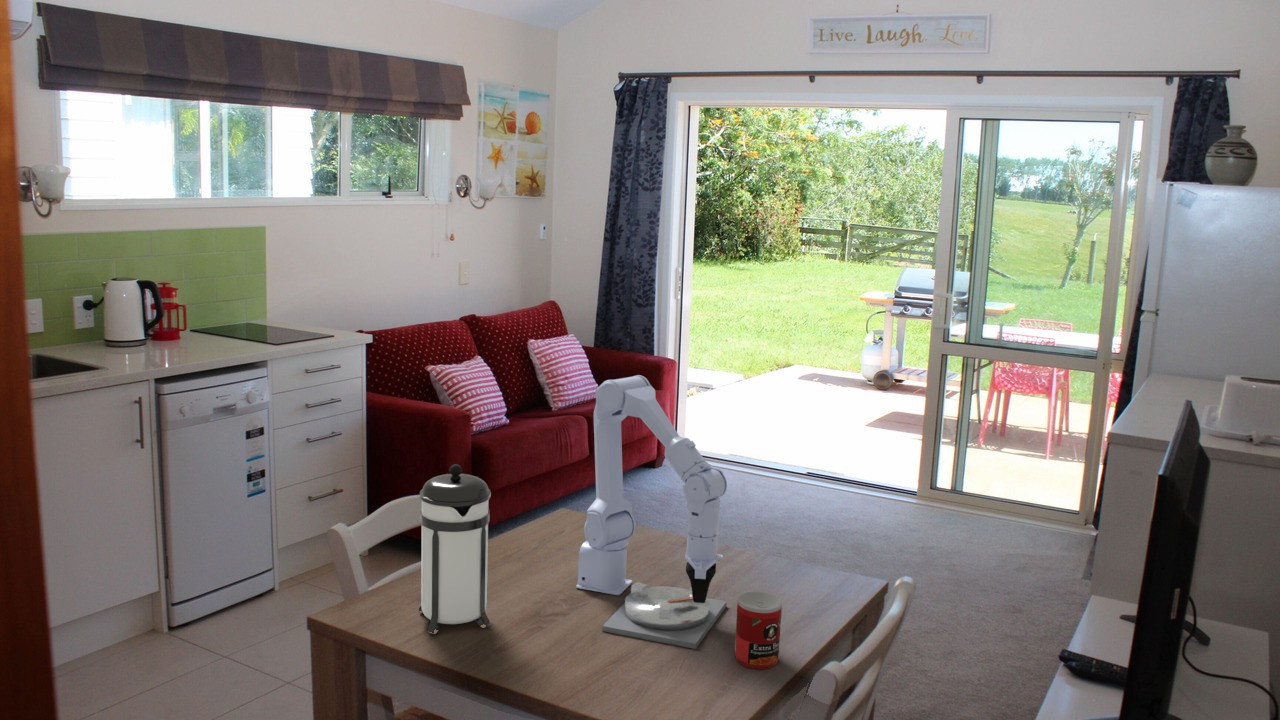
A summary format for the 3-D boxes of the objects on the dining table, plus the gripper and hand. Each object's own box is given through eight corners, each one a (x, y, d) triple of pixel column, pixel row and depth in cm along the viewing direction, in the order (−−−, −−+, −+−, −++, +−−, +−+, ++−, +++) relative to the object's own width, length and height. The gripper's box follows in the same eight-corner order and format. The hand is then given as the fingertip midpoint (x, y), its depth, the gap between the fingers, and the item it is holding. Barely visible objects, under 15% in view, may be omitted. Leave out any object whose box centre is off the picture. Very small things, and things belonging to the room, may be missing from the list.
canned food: (750, 673, 176) (754, 612, 174) (725, 654, 182) (728, 595, 181) (787, 665, 179) (791, 605, 177) (761, 646, 186) (765, 588, 184)
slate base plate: (602, 631, 190) (602, 624, 190) (640, 591, 209) (640, 585, 209) (695, 648, 184) (695, 642, 184) (726, 606, 203) (726, 600, 203)
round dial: (612, 620, 192) (613, 601, 191) (641, 590, 207) (642, 572, 206) (694, 636, 186) (695, 616, 186) (718, 604, 201) (719, 585, 201)
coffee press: (513, 613, 196) (516, 461, 191) (461, 644, 182) (462, 480, 177) (441, 593, 204) (442, 446, 199) (385, 622, 190) (385, 464, 185)
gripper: (724, 547, 186) (720, 618, 188) (724, 521, 200) (720, 588, 202) (684, 544, 186) (681, 615, 189) (688, 519, 201) (684, 585, 203)
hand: (699, 601), depth 196 cm, fingers closed
